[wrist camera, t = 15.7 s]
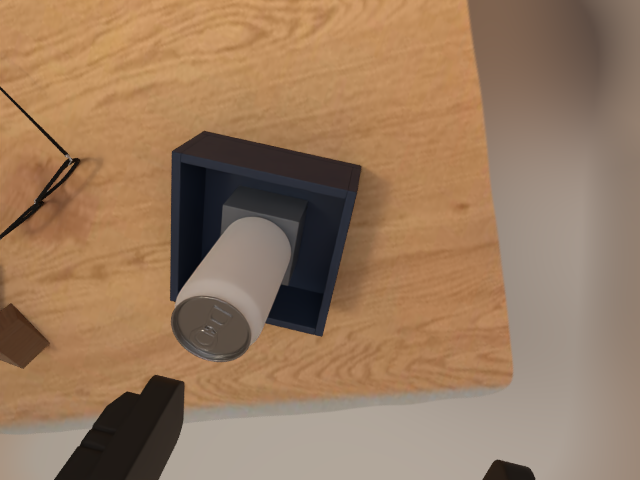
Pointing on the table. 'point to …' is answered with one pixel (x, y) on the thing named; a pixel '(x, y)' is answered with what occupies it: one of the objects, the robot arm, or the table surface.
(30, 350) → the wooden block set
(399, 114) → the table surface
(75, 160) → the eyeglasses
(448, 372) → the table surface
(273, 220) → the grey block
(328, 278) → the crate
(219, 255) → the can
